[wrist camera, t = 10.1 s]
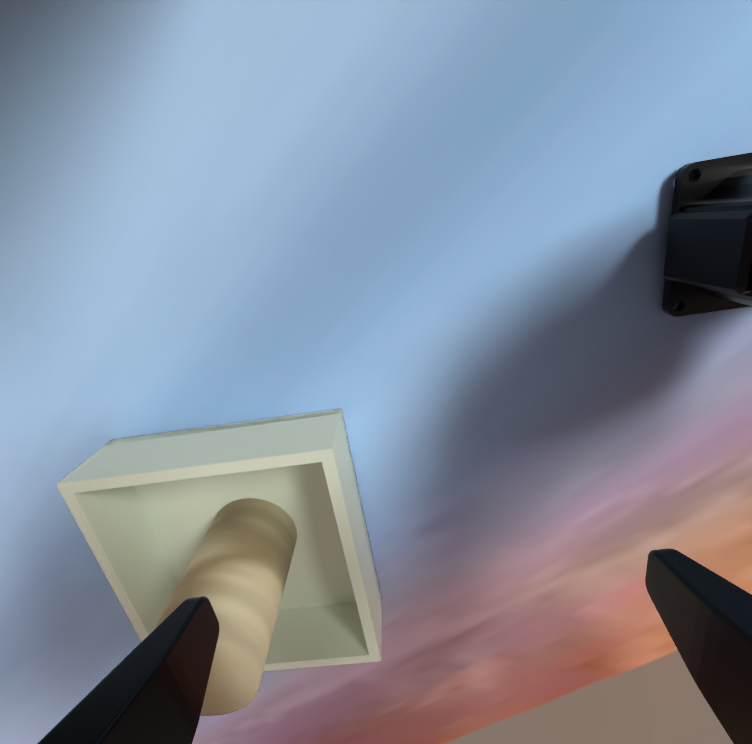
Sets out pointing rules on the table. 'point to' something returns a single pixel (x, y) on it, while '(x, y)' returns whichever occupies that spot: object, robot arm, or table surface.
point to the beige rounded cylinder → (240, 594)
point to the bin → (209, 495)
